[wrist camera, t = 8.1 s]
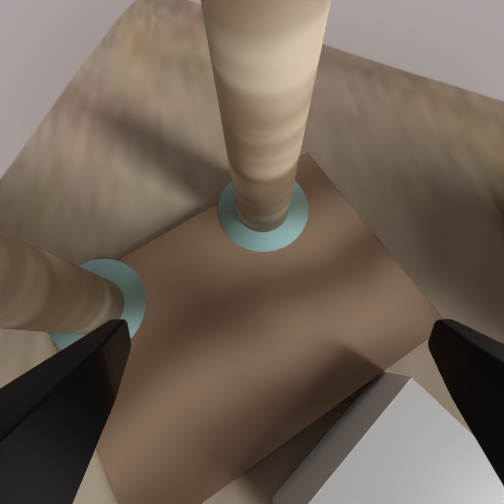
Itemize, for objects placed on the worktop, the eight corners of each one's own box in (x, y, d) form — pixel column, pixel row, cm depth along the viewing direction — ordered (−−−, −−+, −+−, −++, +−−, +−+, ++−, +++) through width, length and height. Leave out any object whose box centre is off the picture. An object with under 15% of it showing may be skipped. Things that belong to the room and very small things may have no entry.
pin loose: (298, 205, 20) (362, -31, 8) (265, 242, 19) (275, 49, 7) (259, 176, 21) (258, -81, 8) (226, 211, 20) (170, -14, 8)
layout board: (436, 325, 18) (448, 324, 17) (145, 535, 16) (136, 550, 14) (297, 152, 23) (299, 141, 21) (46, 294, 20) (33, 291, 19)
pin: (133, 314, 18) (-147, 241, 6) (81, 346, 17) (-354, 342, 5) (110, 268, 19) (-174, 117, 7) (60, 297, 18) (-350, 193, 6)
